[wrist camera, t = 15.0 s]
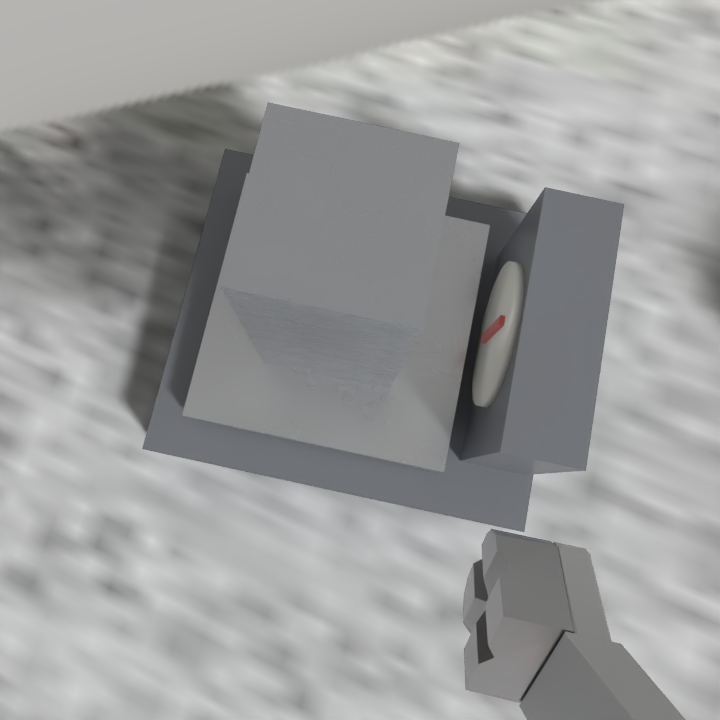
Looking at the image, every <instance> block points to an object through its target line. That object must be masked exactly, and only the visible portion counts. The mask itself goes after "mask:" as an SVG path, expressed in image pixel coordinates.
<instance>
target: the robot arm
mask: <svg viewBox="0 0 720 720" xmlns="http://www.w3.org/2000/svg"><path fill="white" fill-rule="evenodd" d="M463 623H464V625H465V626H466V628H467V629H468V631H469V632H470V634H471V635H470V637H469V639H468V641H467V643H466V646H465V648H464V663H465V689H466V690H469V691H473V692H477V693H482V694H486V695H490V696H494V697H498V698H502V699H506V700H510V701H514V702H518V703H521V704H520V708H521V709H522V711H523V713H524V715H525V717H526V718H527V720H685V719H684V717H683V716H682V715H681V714H680V713H679V711H678V710H677V709H676V708H675V707H674V706H673V704H672V703H671V702H670V701H669V700H668V698H667V697H666V696H665V695H664V694H663V693H662V691H661V690H660V689H659V688H658V687H657V685H656V684H655V683H654V682H653V681H652V680H651V678H650V677H649V676H648V675H647V674H646V672H645V671H644V670H643V669H642V668H641V667H640V665H639V664H638V663H637V662H636V661H635V660H634V658H633V657H632V656H631V655H630V654H629V652H628V651H627V650H626V649H625V648H624V647H623V645H622V644H619V643H615V642H612V641H611V637H610V633H609V629H608V625H607V621H606V617H605V613H604V609H603V605H602V601H601V597H600V593H599V588H598V584H597V580H596V576H595V572H594V568H593V564H592V560H591V556H590V554H589V552H588V551H587V550H586V549H585V548H580V547H575V546H570V545H565V544H561V543H556V542H554V543H552V542H551V541H546V540H541V539H537V538H532V537H527V536H522V535H518V534H513V533H508V532H503V531H498V530H494V529H491V530H490V531H489V532H488V533H487V535H486V537H485V539H484V541H483V543H482V559H481V560H479V561H477V562H475V563H474V564H473V566H472V568H471V571H470V573H469V576H468V579H467V583H466V588H465V592H464V601H463Z"/></svg>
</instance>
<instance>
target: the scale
mask: <svg viewBox="0 0 720 720" xmlns="http://www.w3.org/2000/svg"><path fill="white" fill-rule="evenodd" d="M253 156H254V155H251V154H246V153H242V152H237V151H232V150H228V149H225V151H224V155H223V159H222V162H221V166H220V170H219V173H218V177H217V180H216V184H215V188H214V191H213V195H212V199H211V202H210V206H209V209H208V213H207V217H206V220H205V224H204V227H203V231H202V235H201V238H200V242H199V246H198V249H197V253H196V256H195V260H194V264H193V267H192V271H191V275H190V278H189V282H188V285H187V289H186V293H185V296H184V300H183V304H182V307H181V311H180V314H179V318H178V322H177V325H176V329H175V332H174V336H173V340H172V343H171V347H170V351H169V354H168V358H167V361H166V365H165V369H164V372H163V376H162V380H161V383H160V387H159V390H158V394H157V398H156V401H155V405H154V409H153V412H152V416H151V419H150V423H149V427H148V430H147V434H146V438H145V441H144V445H143V448H142V449H145V450H150V451H154V452H159V453H163V454H168V455H173V456H177V457H182V458H186V459H191V460H196V461H200V462H205V463H209V464H214V465H218V466H223V467H228V468H232V469H237V470H241V471H246V472H251V473H255V474H260V475H264V476H269V477H274V478H278V479H283V480H287V481H292V482H297V483H301V484H306V485H310V486H315V487H320V488H324V489H329V490H333V491H338V492H342V493H347V494H352V495H356V496H361V497H365V498H370V499H375V500H379V501H384V502H388V503H393V504H398V505H402V506H407V507H411V508H416V509H421V510H425V511H430V512H434V513H439V514H444V515H448V516H453V517H457V518H462V519H467V520H471V521H476V522H480V523H485V524H489V525H494V526H499V527H503V528H508V529H512V530H517V531H522V532H524V530H525V523H526V517H527V511H528V505H529V498H530V492H531V486H532V480H533V474H543V473H557V472H572V471H586V465H587V458H588V451H589V445H590V438H591V431H592V424H593V417H594V410H595V403H596V396H597V389H598V382H599V375H600V368H601V361H602V354H603V348H604V341H605V334H606V327H607V320H608V313H609V306H610V299H611V292H612V285H613V278H614V271H615V264H616V258H617V251H618V244H619V237H620V230H621V223H622V216H623V209H624V204H621V203H616V202H611V201H607V200H602V199H597V198H593V197H588V196H583V195H579V194H574V193H569V192H565V191H560V190H555V189H551V188H546V187H545V188H544V190H543V191H542V193H541V194H540V196H539V197H538V199H537V200H536V201H535V203H534V204H533V206H532V207H531V209H530V210H529V212H528V213H527V214H526V213H522V212H517V211H512V210H508V209H503V208H498V207H494V206H489V205H484V204H480V203H475V202H470V201H466V200H461V199H456V198H452V197H449V198H448V203H447V208H446V213H445V216H450V217H454V218H459V219H464V220H468V221H473V222H478V223H482V224H487V225H490V228H489V233H488V239H487V244H486V250H485V255H484V260H483V266H482V271H481V277H480V282H479V287H478V293H477V298H476V303H475V309H474V314H473V320H472V325H471V330H470V336H469V341H468V346H467V352H466V357H465V363H464V368H463V373H462V379H461V384H460V390H459V395H458V400H457V406H456V411H455V416H454V422H453V427H452V433H451V438H450V443H449V449H448V454H447V459H446V465H445V470H444V472H442V473H440V472H435V471H431V470H426V469H421V468H417V467H412V466H408V465H403V464H398V463H394V462H389V461H384V460H380V459H375V458H371V457H366V456H361V455H357V454H352V453H348V452H343V451H338V450H334V449H329V448H325V447H320V446H315V445H311V444H306V443H302V442H297V441H292V440H288V439H283V438H279V437H274V436H269V435H265V434H260V433H256V432H251V431H246V430H242V429H237V428H233V427H228V426H223V425H219V424H214V423H210V422H205V421H200V420H196V419H191V418H187V417H185V416H183V415H182V414H183V410H184V406H185V403H186V399H187V395H188V391H189V388H190V384H191V380H192V376H193V373H194V369H195V365H196V361H197V358H198V354H199V350H200V346H201V343H202V339H203V335H204V331H205V328H206V324H207V320H208V317H209V313H210V309H211V305H212V302H213V298H214V294H215V290H216V287H217V283H218V279H219V275H220V272H221V268H222V264H223V260H224V257H225V253H226V249H227V245H228V242H229V238H230V234H231V230H232V227H233V223H234V219H235V215H236V212H237V208H238V204H239V200H240V197H241V193H242V189H243V185H244V182H245V178H246V174H247V173H249V172H250V168H251V164H252V160H253Z"/></svg>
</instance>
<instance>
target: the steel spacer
mask: <svg viewBox="0 0 720 720" xmlns="http://www.w3.org/2000/svg"><path fill="white" fill-rule="evenodd" d="M458 148H459V143H457V142H452V141H447V140H442V139H438V138H433V137H428V136H424V135H419V134H414V133H410V132H405V131H400V130H395V129H391V128H386V127H381V126H377V125H372V124H367V123H362V122H358V121H353V120H348V119H344V118H339V117H334V116H329V115H325V114H320V113H315V112H311V111H306V110H301V109H296V108H292V107H287V106H282V105H278V104H273V103H268V104H267V107H266V111H265V115H264V119H263V122H262V126H261V130H260V134H259V138H258V141H257V145H256V149H255V153H254V156H253V160H252V164H251V168H250V172H249V175H248V179H247V183H246V187H245V190H244V194H243V198H242V202H241V206H240V209H239V213H238V217H237V221H236V224H235V228H234V232H233V236H232V240H231V243H230V247H229V251H228V255H227V258H226V262H225V266H224V270H223V274H222V277H221V281H220V285H219V286H220V288H221V290H222V292H223V293H224V295H225V297H226V298H227V300H228V302H229V304H230V305H231V307H232V309H233V310H234V312H235V314H236V316H237V317H238V319H239V321H240V322H241V324H242V326H243V328H244V329H245V331H246V333H247V334H248V336H249V338H250V340H251V341H252V343H253V345H254V346H255V348H256V350H257V352H258V353H259V355H260V357H261V358H262V360H263V362H264V363H267V364H272V365H276V366H281V367H286V368H290V369H295V370H300V371H304V372H309V373H314V374H318V375H323V376H327V377H332V378H337V379H341V380H346V381H351V382H355V383H360V384H365V385H369V386H374V387H379V388H383V389H388V390H390V389H391V387H392V385H393V383H394V381H395V379H396V377H397V376H398V374H399V372H400V370H401V368H402V366H403V364H404V363H405V361H406V359H407V357H408V355H409V353H410V351H411V350H412V348H413V346H414V344H415V342H416V340H417V338H418V337H419V335H420V333H421V331H422V328H423V323H424V318H425V313H426V308H427V303H428V298H429V293H430V288H431V283H432V278H433V273H434V268H435V263H436V258H437V253H438V248H439V243H440V238H441V233H442V228H443V223H444V218H445V213H446V208H447V203H448V198H449V193H450V188H451V183H452V178H453V173H454V168H455V163H456V158H457V153H458Z"/></svg>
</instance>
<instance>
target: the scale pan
mask: <svg viewBox="0 0 720 720" xmlns="http://www.w3.org/2000/svg"><path fill="white" fill-rule="evenodd" d="M248 175H249V173H247V174H246V178H245V182H244V185H243V189H242V193H241V197H240V200H239V204H238V208H237V212H236V215H235V219H234V223H233V227H232V230H231V234H230V238H229V242H228V245H227V249H226V253H225V257H224V260H223V264H222V268H221V272H220V275H219V279H218V283H217V287H216V290H215V294H214V298H213V302H212V305H211V309H210V313H209V317H208V320H207V324H206V328H205V331H204V335H203V339H202V343H201V346H200V350H199V354H198V358H197V361H196V365H195V369H194V373H193V376H192V380H191V384H190V388H189V391H188V395H187V399H186V403H185V406H184V410H183V414H182V415H183V416H185V417H187V418H191V419H196V420H200V421H205V422H210V423H214V424H219V425H223V426H228V427H233V428H237V429H242V430H246V431H251V432H256V433H260V434H265V435H269V436H274V437H279V438H283V439H288V440H292V441H297V442H302V443H306V444H311V445H315V446H320V447H325V448H329V449H334V450H338V451H343V452H348V453H352V454H357V455H361V456H366V457H371V458H375V459H380V460H384V461H389V462H394V463H398V464H403V465H408V466H412V467H417V468H421V469H426V470H431V471H435V472H440V473H442V472H444V470H445V465H446V459H447V454H448V449H449V443H450V438H451V433H452V427H453V422H454V416H455V411H456V406H457V400H458V395H459V390H460V384H461V379H462V373H463V368H464V363H465V357H466V352H467V346H468V341H469V336H470V330H471V325H472V320H473V314H474V309H475V303H476V298H477V293H478V287H479V282H480V277H481V271H482V266H483V260H484V255H485V250H486V244H487V239H488V233H489V228H490V225H487V224H482V223H478V222H473V221H468V220H464V219H459V218H454V217H450V216H445V218H444V223H443V228H442V233H441V238H440V243H439V248H438V253H437V258H436V263H435V268H434V273H433V278H432V283H431V288H430V293H429V298H428V303H427V308H426V313H425V318H424V323H423V328H422V331H421V333H420V335H419V337H418V338H417V340H416V342H415V344H414V346H413V348H412V350H411V351H410V353H409V355H408V357H407V359H406V361H405V363H404V364H403V366H402V368H401V370H400V372H399V374H398V376H397V377H396V379H395V381H394V383H393V385H392V387H391V389H390V390H388V389H383V388H379V387H374V386H369V385H365V384H360V383H355V382H351V381H346V380H341V379H337V378H332V377H327V376H323V375H318V374H314V373H309V372H304V371H300V370H295V369H290V368H286V367H281V366H276V365H272V364H267V363H264V362H263V360H262V358H261V357H260V355H259V353H258V352H257V350H256V348H255V346H254V345H253V343H252V341H251V340H250V338H249V336H248V334H247V333H246V331H245V329H244V328H243V326H242V324H241V322H240V321H239V319H238V317H237V316H236V314H235V312H234V310H233V309H232V307H231V305H230V304H229V302H228V300H227V298H226V297H225V295H224V293H223V292H222V290H221V288H220V286H219V285H220V281H221V277H222V274H223V270H224V266H225V262H226V258H227V255H228V251H229V247H230V243H231V240H232V236H233V232H234V228H235V224H236V221H237V217H238V213H239V209H240V206H241V202H242V198H243V194H244V190H245V187H246V183H247V179H248Z"/></svg>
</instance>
